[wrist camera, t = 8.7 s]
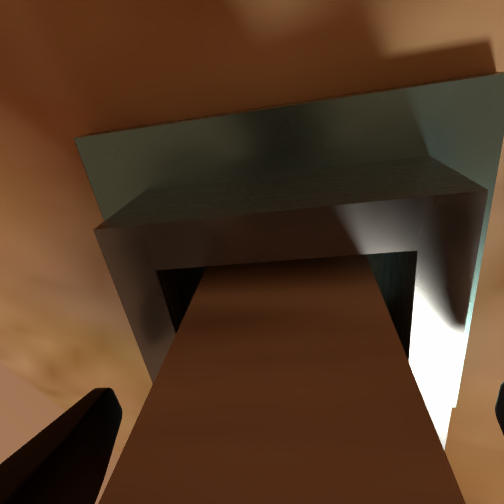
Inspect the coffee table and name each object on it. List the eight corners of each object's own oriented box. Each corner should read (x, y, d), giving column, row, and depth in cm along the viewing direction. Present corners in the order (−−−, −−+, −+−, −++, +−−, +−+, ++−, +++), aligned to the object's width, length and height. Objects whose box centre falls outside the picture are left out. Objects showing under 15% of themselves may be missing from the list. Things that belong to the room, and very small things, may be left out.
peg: (355, 337, 12) (435, 676, 5) (239, 341, 13) (176, 645, 6) (355, 228, 11) (478, 536, 4) (218, 240, 11) (93, 515, 4)
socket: (447, 390, 14) (498, 494, 11) (178, 393, 16) (146, 482, 13) (497, 72, 9) (629, 69, 5) (88, 134, 11) (-11, 161, 7)
